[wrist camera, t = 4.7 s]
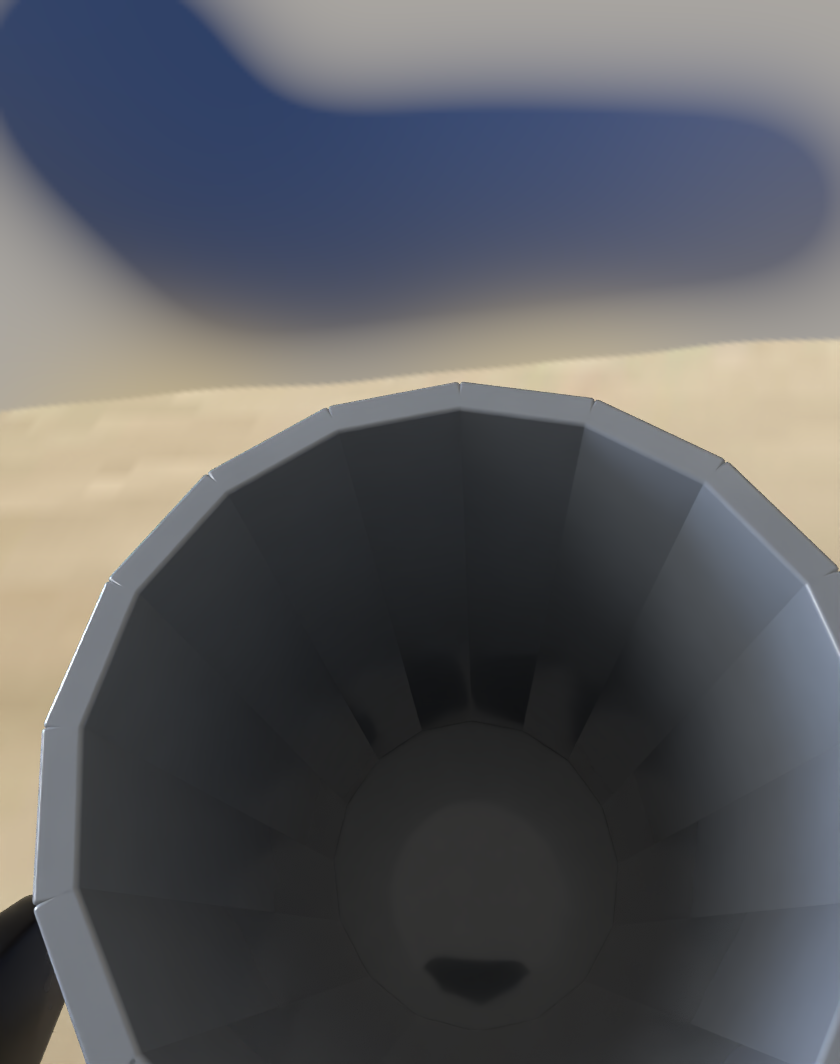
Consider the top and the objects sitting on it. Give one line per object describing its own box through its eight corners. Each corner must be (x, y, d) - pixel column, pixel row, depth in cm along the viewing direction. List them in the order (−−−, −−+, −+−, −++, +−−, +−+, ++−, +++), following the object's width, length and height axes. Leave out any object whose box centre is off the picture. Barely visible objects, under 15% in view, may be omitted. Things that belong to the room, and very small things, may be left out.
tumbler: (682, 822, 17) (1049, 609, 6) (526, 1127, 15) (665, 1688, 4) (434, 662, 19) (372, 292, 8) (263, 908, 17) (-146, 849, 6)
